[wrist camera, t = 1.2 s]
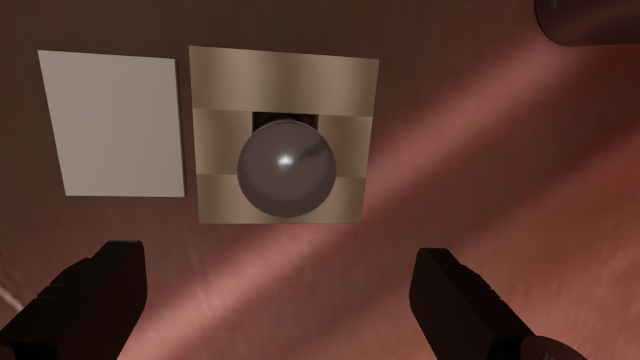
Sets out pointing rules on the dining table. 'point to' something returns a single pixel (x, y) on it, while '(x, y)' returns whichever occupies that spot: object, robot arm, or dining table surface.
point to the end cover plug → (286, 167)
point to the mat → (115, 123)
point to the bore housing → (283, 97)
